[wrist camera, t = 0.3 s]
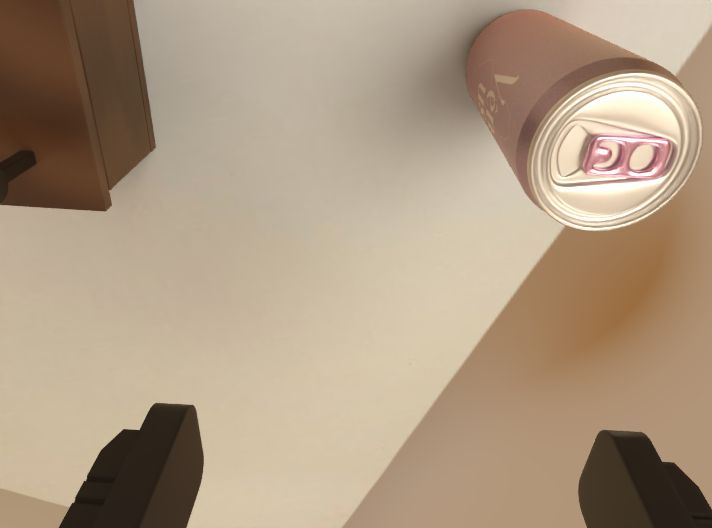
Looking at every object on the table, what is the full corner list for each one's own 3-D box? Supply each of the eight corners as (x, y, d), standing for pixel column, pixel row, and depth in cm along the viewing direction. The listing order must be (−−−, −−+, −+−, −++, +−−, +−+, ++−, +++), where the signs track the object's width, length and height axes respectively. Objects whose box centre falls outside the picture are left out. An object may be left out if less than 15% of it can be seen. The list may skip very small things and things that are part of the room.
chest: (156, 147, 34) (110, 191, 28) (-9, 137, 34) (-89, 178, 28) (126, -44, 28) (61, -39, 23) (-71, -56, 28) (-186, -54, 23)
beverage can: (555, 120, 32) (671, 242, 19) (456, 114, 32) (507, 231, 19) (583, 11, 29) (743, 70, 16) (473, 4, 29) (546, 58, 16)
